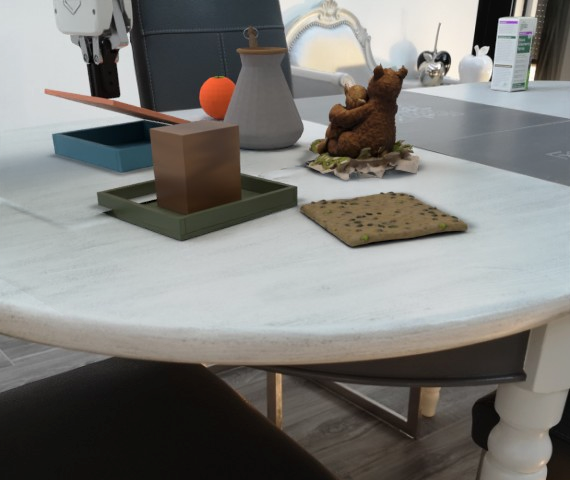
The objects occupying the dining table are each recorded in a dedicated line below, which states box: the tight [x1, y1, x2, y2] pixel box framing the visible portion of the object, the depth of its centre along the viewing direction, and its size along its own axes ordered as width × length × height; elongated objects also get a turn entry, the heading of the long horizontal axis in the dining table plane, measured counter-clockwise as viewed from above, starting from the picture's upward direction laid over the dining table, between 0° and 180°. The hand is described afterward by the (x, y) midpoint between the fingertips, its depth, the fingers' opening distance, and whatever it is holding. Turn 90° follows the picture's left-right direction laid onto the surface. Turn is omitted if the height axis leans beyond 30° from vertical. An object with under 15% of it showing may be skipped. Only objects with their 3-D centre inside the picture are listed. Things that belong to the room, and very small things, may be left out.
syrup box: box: [490, 15, 538, 93], centre depth 144 cm, size 6×6×14 cm
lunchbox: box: [51, 119, 170, 173], centre depth 87 cm, size 15×16×3 cm
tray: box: [96, 172, 299, 242], centre depth 67 cm, size 15×13×2 cm
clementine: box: [198, 74, 236, 120], centre depth 114 cm, size 8×7×7 cm
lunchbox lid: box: [43, 88, 192, 125], centre depth 85 cm, size 15×16×1 cm
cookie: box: [299, 191, 468, 247], centre depth 63 cm, size 12×12×1 cm
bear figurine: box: [305, 62, 420, 181], centre depth 81 cm, size 14×15×12 cm
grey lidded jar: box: [222, 25, 305, 151], centre depth 94 cm, size 21×12×15 cm, turn 7°
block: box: [150, 119, 242, 215], centre depth 66 cm, size 7×5×8 cm
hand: (106, 97), depth 82 cm, fingers closed
